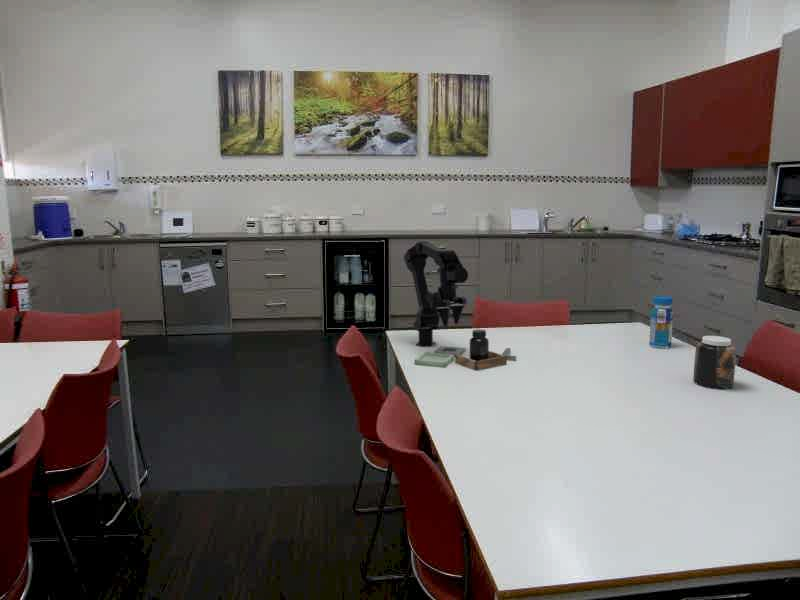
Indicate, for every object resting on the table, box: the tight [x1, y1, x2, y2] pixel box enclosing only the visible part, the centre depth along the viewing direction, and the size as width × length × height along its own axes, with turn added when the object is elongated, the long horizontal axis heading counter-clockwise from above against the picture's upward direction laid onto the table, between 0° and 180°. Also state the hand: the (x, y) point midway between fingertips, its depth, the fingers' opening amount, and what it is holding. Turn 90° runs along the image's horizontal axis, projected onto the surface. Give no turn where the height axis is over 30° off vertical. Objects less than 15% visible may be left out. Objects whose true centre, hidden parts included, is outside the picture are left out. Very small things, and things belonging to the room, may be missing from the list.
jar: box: [692, 335, 737, 389], centre depth 207 cm, size 12×12×15 cm
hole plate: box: [432, 345, 467, 356], centre depth 248 cm, size 10×10×1 cm
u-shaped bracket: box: [454, 350, 508, 371], centre depth 233 cm, size 12×14×3 cm
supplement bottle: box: [469, 329, 490, 361], centre depth 233 cm, size 7×7×12 cm
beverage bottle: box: [648, 295, 674, 349], centre depth 255 cm, size 8×8×20 cm
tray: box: [414, 351, 455, 368], centre depth 236 cm, size 12×12×2 cm
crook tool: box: [500, 347, 517, 362], centre depth 243 cm, size 12×6×2 cm, turn 160°
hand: (451, 325), depth 242 cm, fingers open, 9 cm apart
